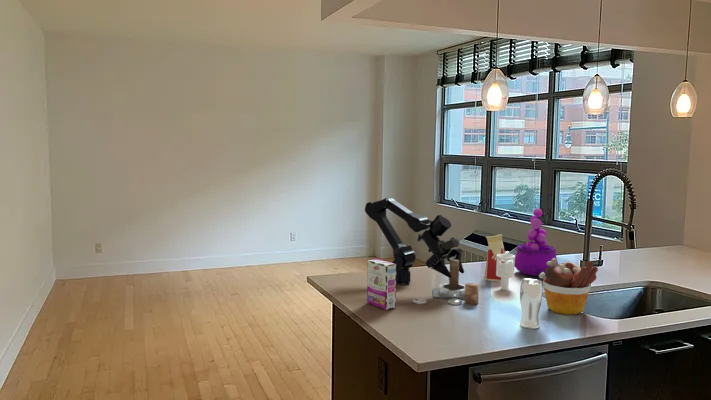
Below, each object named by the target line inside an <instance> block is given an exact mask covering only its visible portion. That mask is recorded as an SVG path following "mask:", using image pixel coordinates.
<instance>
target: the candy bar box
mask: <svg viewBox="0 0 711 400" xmlns="http://www.w3.org/2000/svg"><path fill="white" fill-rule="evenodd" d="M366 280H367V290H366V291H367V295H366V296H367V297H366V302H367V304H368V305H371V306H374V307H377V308H379V309H382V310H384V311H390V310H393V309H396V305H397V304H396V303H397V301H396V299H397V284H396V264H394V263H392V262H390V261H386V260H382V259H379V258H375V259H370V260H369V259H368V260H367V279H366Z"/></svg>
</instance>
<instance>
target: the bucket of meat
mask: <svg viewBox="0 0 711 400" xmlns="http://www.w3.org/2000/svg"><path fill="white" fill-rule="evenodd" d="M556 258H557V257H556ZM556 258H553V259H552V260H551V261H549V262H547V265H548V266H550V267H548V268H547V269H546V270H545V273H546V275H545V273H544V272H542V273H541V274H540V275H539V276H538V277H539V278H540V279H543V280H542V286H543V291H544V295H545V300H546V305H547V308H548V309H549V311H551V312H552V313H555V314H559V315H564V316H575V315H579V314H581V313H582V312H584V309H585V307H586V303H587V300H588V296H589V293H590V290H591V289H592V286H591V284H592V283H594V282H595V281H596V280H597V279H598V277H597V275H596V274H597V272H598V271H599V269H598V268H599V267H598V266H596V265H595V266H594V262H593V260H588V261H587V262H586V265H585V266H583V267H580V265H578V264H576V263H574V262H571V261H567V260H566V261H565V262H563V263H558V264H556V262H558V258H557V259H556Z"/></svg>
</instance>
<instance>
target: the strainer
mask: <svg viewBox="0 0 711 400" xmlns="http://www.w3.org/2000/svg"><path fill="white" fill-rule="evenodd" d="M515 256H516V255H515V254H510V251H508V250H507V251H506V250H505V254H497V265H496V276H498V277H501V282H500V290H503V291H508V290H510V288H509V285H510V284H509V282H510V279H511V278H514V277H515ZM499 259H501V260H499ZM498 261H499V262H498ZM501 261H502V262H504V261H506V262H505V263H501Z"/></svg>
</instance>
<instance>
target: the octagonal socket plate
mask: <svg viewBox="0 0 711 400" xmlns="http://www.w3.org/2000/svg"><path fill="white" fill-rule="evenodd" d="M432 296H433V298H432V299H441V300H442V299H444V300H449V299H460V300H465V284H463V283H459V286H458V290H450V289H449V282H445V283H440V284H438V288H437V287H434V288H432Z"/></svg>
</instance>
